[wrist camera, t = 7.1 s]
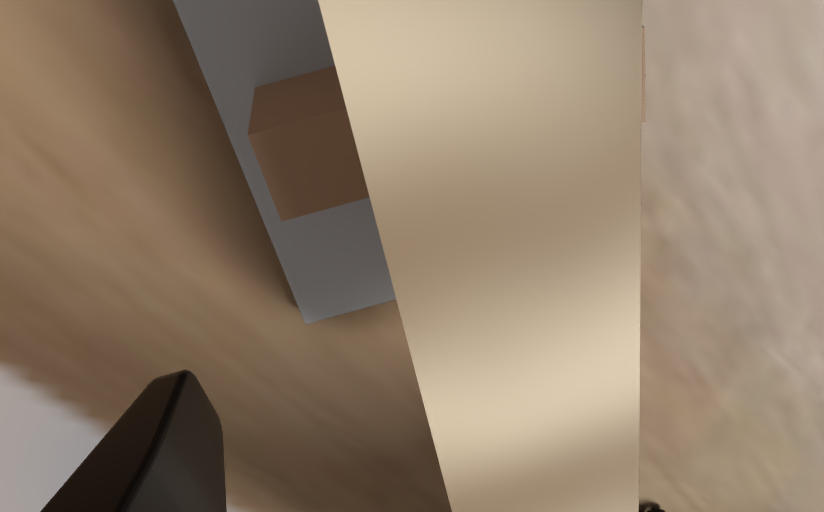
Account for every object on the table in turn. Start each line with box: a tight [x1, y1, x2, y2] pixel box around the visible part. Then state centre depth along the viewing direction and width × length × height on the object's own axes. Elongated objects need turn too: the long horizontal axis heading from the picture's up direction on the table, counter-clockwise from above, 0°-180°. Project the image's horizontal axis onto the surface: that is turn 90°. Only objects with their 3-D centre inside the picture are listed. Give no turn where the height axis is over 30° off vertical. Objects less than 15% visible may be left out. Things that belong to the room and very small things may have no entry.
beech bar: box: [318, 0, 642, 512], centre depth 11 cm, size 18×4×4 cm, turn 11°
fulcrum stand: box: [173, 0, 646, 324], centre depth 14 cm, size 12×10×4 cm
